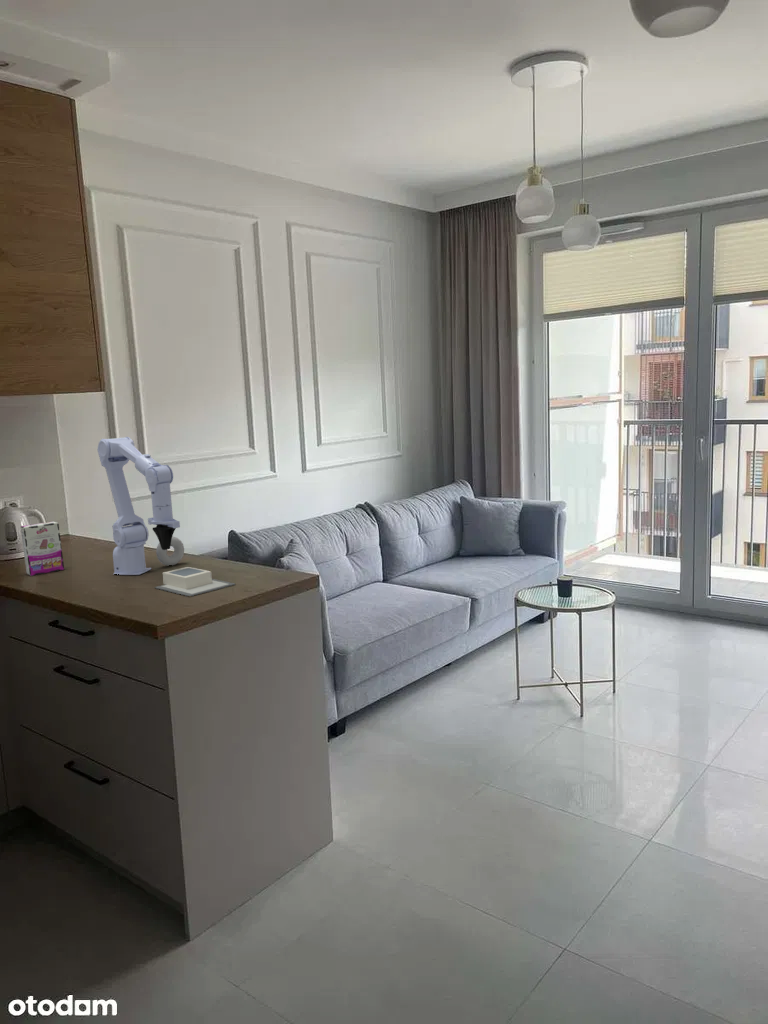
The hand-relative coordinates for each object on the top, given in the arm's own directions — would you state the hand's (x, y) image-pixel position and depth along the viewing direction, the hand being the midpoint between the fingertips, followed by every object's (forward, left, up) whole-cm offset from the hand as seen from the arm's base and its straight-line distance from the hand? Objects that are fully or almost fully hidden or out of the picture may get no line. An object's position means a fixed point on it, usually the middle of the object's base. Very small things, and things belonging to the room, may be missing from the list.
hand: (166, 549), depth 234 cm
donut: (-9, +20, -10) cm, 24 cm away
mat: (+12, -7, -10) cm, 17 cm away
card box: (+4, -2, -8) cm, 9 cm away
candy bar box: (-50, +10, -10) cm, 52 cm away
